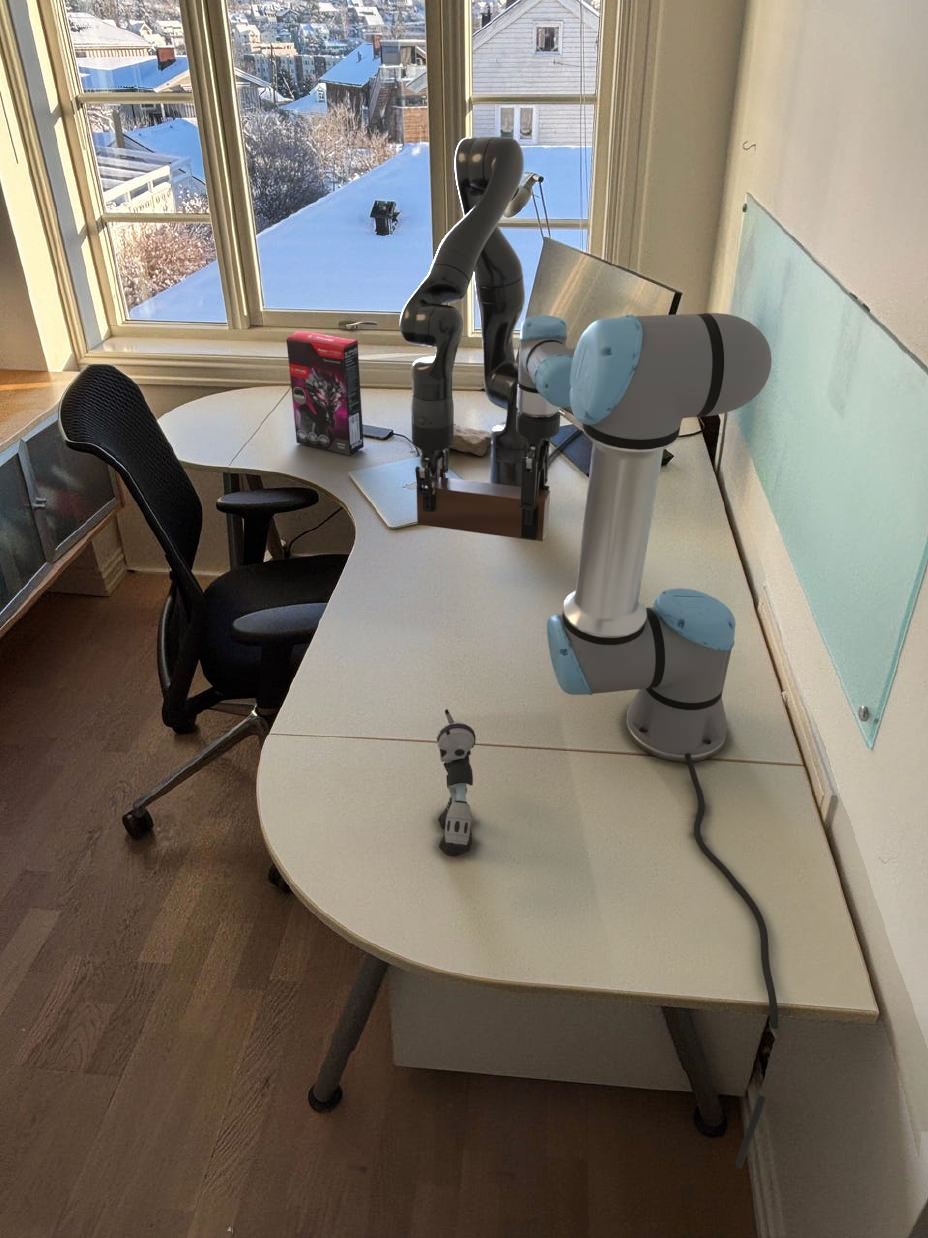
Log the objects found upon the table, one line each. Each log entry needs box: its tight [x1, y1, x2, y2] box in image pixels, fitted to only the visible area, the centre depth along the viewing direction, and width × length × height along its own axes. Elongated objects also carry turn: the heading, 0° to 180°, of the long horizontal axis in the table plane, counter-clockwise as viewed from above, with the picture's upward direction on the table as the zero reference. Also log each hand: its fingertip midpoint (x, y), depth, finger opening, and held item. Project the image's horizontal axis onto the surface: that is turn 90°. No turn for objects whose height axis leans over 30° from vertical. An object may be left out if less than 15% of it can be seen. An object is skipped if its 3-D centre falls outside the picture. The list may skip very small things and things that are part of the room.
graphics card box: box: [285, 330, 365, 456], centre depth 225 cm, size 17×7×27 cm, turn 62°
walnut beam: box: [416, 476, 551, 543], centre depth 171 cm, size 5×24×8 cm, turn 75°
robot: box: [436, 708, 477, 857], centre depth 119 cm, size 20×5×20 cm, turn 3°
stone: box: [449, 423, 492, 457], centre depth 232 cm, size 21×15×6 cm
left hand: (433, 504), depth 173 cm, fingers closed on walnut beam, 5 cm apart
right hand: (532, 530), depth 170 cm, fingers closed on walnut beam, 5 cm apart
